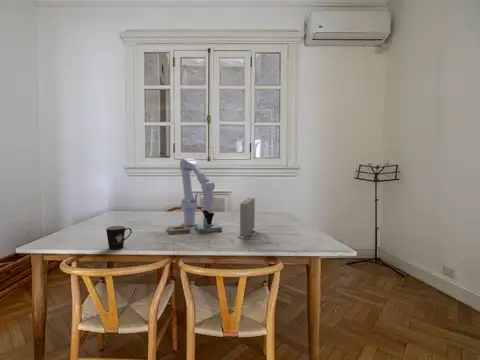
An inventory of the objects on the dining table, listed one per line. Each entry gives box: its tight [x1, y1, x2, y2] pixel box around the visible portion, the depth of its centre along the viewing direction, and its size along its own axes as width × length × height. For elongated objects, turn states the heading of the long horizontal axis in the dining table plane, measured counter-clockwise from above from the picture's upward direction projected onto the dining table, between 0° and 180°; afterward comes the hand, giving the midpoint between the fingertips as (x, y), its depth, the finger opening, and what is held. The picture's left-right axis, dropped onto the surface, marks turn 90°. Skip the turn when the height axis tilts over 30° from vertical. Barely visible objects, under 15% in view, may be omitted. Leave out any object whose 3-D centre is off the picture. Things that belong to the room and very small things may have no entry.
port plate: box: [194, 222, 223, 234], centre depth 186 cm, size 14×14×2 cm
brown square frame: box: [167, 225, 191, 235], centre depth 181 cm, size 12×12×2 cm
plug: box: [202, 218, 211, 227], centre depth 186 cm, size 3×4×7 cm
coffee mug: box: [105, 225, 132, 251], centre depth 146 cm, size 12×9×10 cm
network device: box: [237, 197, 258, 240], centre depth 173 cm, size 26×9×20 cm, turn 168°
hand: (208, 222), depth 186 cm, fingers open, 7 cm apart
